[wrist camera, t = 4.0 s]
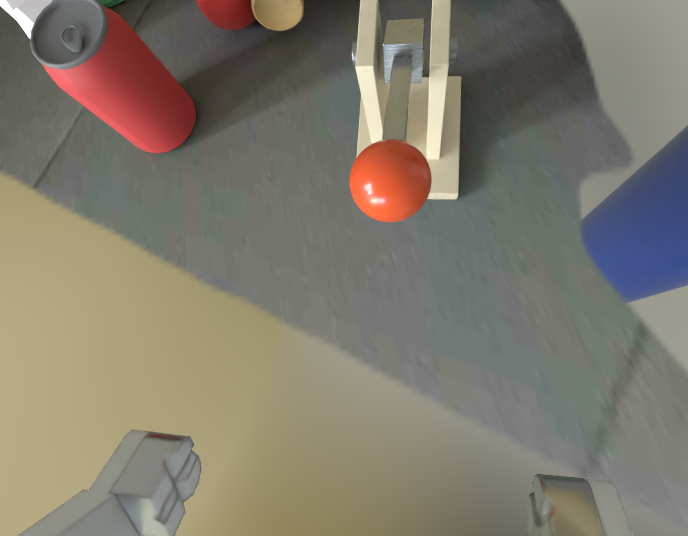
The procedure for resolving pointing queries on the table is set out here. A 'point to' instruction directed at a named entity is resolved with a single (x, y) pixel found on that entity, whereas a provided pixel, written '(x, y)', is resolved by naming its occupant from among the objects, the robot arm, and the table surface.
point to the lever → (395, 135)
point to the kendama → (253, 13)
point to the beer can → (112, 73)
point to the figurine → (25, 11)
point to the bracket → (414, 96)
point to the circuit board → (109, 2)
